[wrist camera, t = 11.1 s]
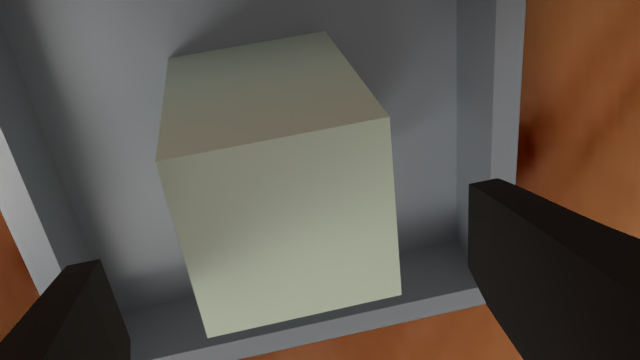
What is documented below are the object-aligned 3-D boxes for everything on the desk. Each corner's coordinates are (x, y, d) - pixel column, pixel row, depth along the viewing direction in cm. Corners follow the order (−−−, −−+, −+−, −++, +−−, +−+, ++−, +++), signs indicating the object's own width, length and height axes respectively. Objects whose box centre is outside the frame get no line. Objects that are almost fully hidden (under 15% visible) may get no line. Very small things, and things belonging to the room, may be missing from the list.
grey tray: (99, 323, 21) (84, 393, 18) (-76, -108, 14) (-142, -99, 11) (470, 244, 23) (508, 298, 20) (476, -181, 16) (537, -189, 13)
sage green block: (203, 194, 19) (207, 338, 13) (168, 58, 16) (155, 162, 11) (341, 167, 19) (401, 294, 14) (325, 30, 17) (389, 117, 11)
